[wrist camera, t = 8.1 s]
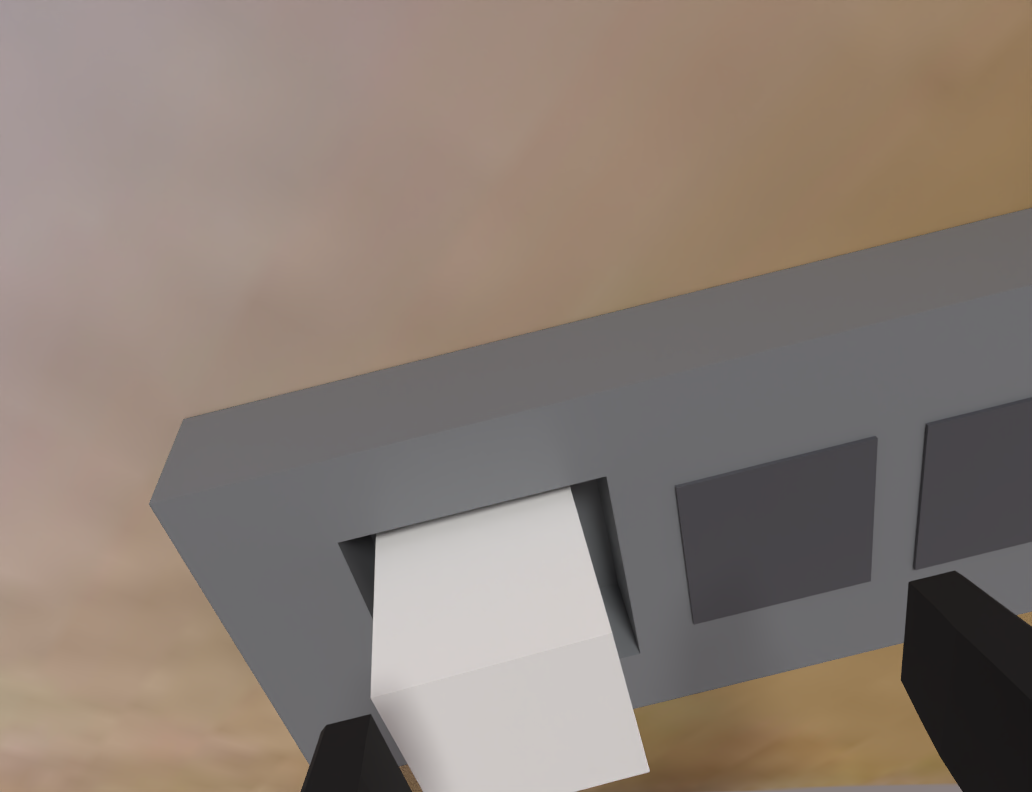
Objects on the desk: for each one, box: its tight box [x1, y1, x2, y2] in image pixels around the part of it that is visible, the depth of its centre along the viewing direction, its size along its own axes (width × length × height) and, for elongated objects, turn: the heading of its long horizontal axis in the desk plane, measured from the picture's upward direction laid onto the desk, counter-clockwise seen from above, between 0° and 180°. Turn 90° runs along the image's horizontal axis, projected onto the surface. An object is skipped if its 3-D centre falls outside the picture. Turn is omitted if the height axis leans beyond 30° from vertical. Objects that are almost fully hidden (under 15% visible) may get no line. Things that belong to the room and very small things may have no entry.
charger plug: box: [370, 485, 650, 792], centre depth 18 cm, size 4×4×6 cm
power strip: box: [149, 208, 1032, 766], centre depth 20 cm, size 22×10×3 cm, turn 102°
